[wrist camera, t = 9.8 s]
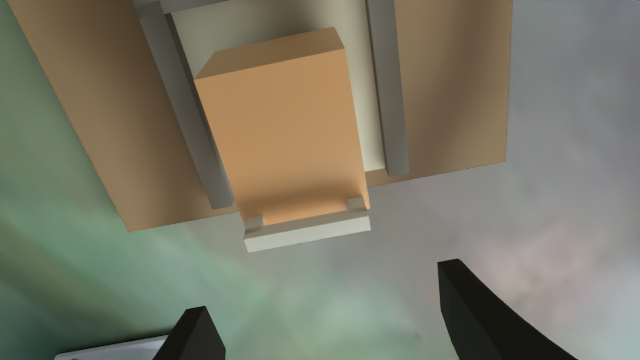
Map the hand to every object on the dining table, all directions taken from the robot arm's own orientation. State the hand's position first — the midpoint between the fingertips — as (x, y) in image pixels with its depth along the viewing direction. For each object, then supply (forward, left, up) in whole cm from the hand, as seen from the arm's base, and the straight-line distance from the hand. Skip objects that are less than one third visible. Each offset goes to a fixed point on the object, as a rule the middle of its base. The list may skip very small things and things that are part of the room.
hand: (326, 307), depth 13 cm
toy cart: (0, +4, -9) cm, 10 cm away
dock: (0, +4, -10) cm, 11 cm away
